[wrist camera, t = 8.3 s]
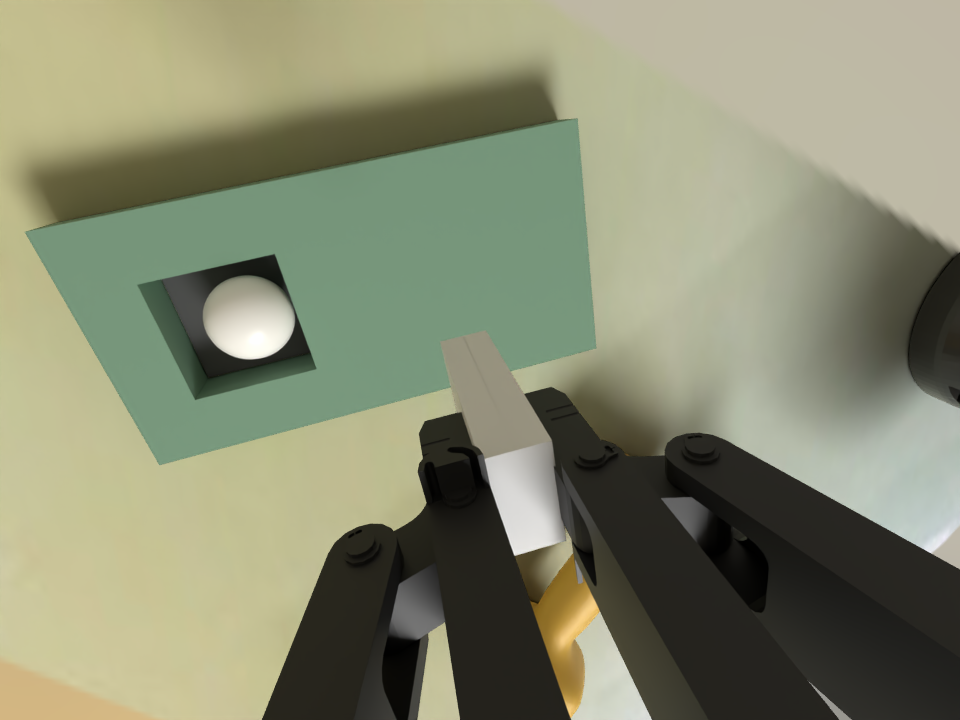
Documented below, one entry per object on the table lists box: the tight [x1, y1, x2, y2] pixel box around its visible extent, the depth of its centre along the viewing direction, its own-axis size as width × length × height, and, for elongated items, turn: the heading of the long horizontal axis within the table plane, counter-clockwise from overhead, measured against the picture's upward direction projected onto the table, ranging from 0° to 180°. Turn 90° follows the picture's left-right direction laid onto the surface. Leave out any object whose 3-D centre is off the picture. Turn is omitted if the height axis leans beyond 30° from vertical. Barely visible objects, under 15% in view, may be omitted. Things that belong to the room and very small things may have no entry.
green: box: [25, 119, 596, 465], centre depth 26 cm, size 24×12×2 cm, turn 101°
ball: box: [203, 275, 295, 359], centre depth 24 cm, size 4×4×4 cm
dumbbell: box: [530, 454, 630, 718], centre depth 34 cm, size 19×9×8 cm, turn 149°
